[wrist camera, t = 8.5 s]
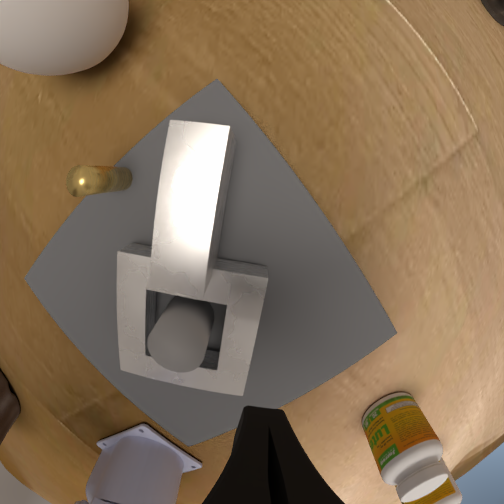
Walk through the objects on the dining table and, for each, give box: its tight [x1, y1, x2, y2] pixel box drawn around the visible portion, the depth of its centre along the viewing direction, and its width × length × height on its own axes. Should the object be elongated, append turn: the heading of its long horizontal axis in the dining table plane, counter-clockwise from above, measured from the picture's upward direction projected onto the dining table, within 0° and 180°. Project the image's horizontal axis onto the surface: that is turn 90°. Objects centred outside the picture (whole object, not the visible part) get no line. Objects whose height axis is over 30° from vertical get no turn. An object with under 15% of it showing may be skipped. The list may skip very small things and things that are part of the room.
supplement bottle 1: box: [362, 392, 448, 503], centre depth 16 cm, size 5×5×10 cm
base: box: [24, 79, 397, 446], centre depth 16 cm, size 20×20×5 cm
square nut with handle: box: [117, 120, 268, 396], centre depth 14 cm, size 14×8×4 cm, turn 170°
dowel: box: [66, 165, 133, 197], centre depth 13 cm, size 1×1×5 cm
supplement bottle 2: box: [395, 457, 462, 504], centre depth 18 cm, size 7×7×13 cm
